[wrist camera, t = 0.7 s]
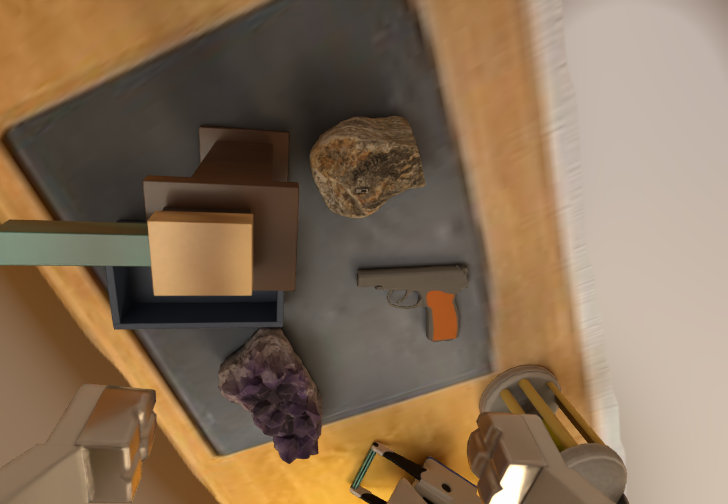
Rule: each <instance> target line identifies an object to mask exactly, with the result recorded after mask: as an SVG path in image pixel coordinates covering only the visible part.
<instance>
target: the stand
mask: <svg viewBox="0 0 728 504" xmlns="http://www.w3.org/2000/svg"><path fill="white" fill-rule="evenodd" d="M199 148H200V165H199V167H198V168H197V170H196V171H195V172H194V174H193V175H192V177H173V176H152V175H148V176H147V177H146V178H145V179H144V180H143V181H142V182H143V193H144V204H145V214H146V223H147V221H148V220H149V218H150V217H151V216H152V214H153V213H154V212H155V211H161V210H162V209H163V208H164V207H187V208H215V209H244V210H251V214H253V289H252V291H295V280H296V255H297V231H298V207H299V184H298V183H297V182H288V162H289V132H286V131H272V130H257V129H243V128H229V127H214V126H199ZM150 268H151V267H150ZM151 279H152V268H151ZM152 289H153V279H152ZM153 291H154V289H153Z"/></svg>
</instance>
